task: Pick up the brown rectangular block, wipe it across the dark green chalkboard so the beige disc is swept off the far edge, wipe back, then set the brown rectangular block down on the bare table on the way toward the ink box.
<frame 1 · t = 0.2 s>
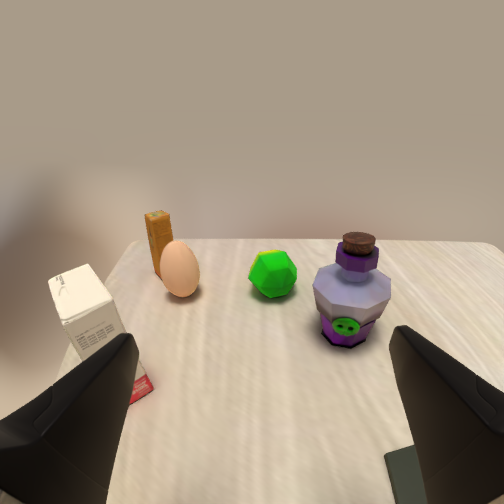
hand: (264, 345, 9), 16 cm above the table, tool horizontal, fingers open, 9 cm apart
potion bottle: (344, 332, 31), on the table
egg: (185, 295, 40), on the table
supplement box: (168, 273, 45), on the table
ink box: (119, 377, 26), on the table
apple: (270, 287, 40), on the table
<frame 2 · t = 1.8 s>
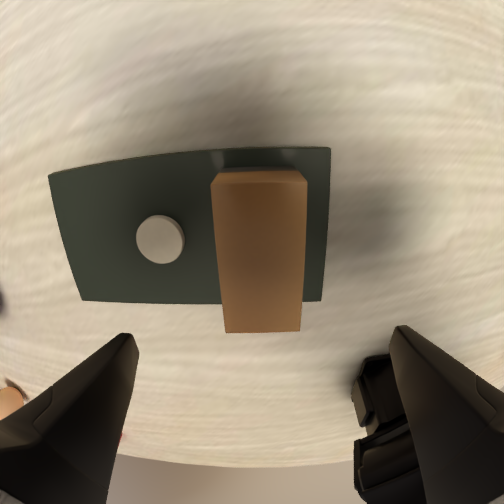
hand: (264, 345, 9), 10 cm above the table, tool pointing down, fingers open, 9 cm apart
egg: (18, 389, 30), on the table
beige disc: (161, 237, 17), point 1 cm above the table, touching chalkboard
chalkboard: (179, 233, 18), on the table
brown rectangular block: (260, 234, 17), point 1 cm above the table, touching chalkboard
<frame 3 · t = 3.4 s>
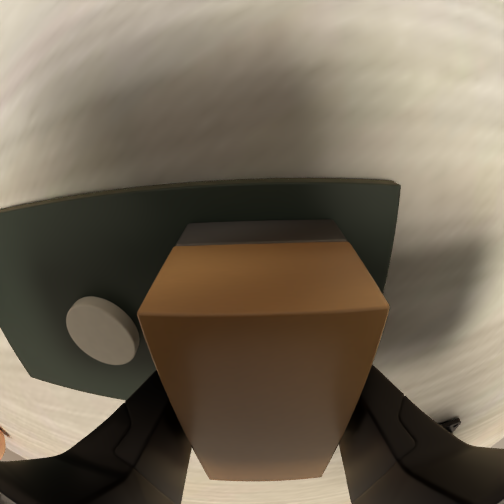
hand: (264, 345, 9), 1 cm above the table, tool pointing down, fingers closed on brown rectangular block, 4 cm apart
beige disc: (104, 327, 10), point 1 cm above the table, touching chalkboard
chalkboard: (131, 319, 10), on the table
brown rectangular block: (263, 332, 9), point 1 cm above the table, touching chalkboard, gripper
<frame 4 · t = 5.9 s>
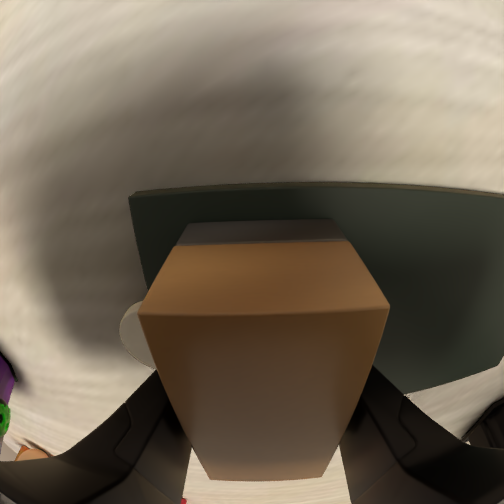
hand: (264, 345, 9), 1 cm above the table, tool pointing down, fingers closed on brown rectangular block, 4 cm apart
egg: (43, 450, 22), on the table
beige disc: (162, 332, 10), point 1 cm above the table, touching chalkboard
chalkboard: (399, 314, 10), on the table
brown rectangular block: (263, 332, 9), point 1 cm above the table, touching gripper
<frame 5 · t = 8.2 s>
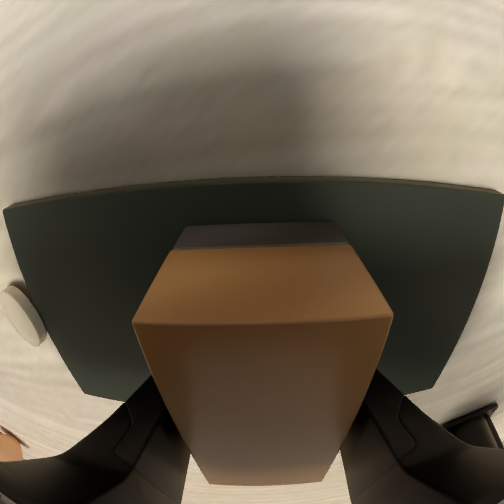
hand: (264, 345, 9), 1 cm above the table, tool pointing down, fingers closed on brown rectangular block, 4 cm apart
egg: (14, 436, 22), on the table
beige disc: (26, 313, 10), on the table, tilted 12°, touching chalkboard
chalkboard: (253, 323, 10), on the table
brown rectangular block: (263, 336, 9), point 1 cm above the table, touching gripper
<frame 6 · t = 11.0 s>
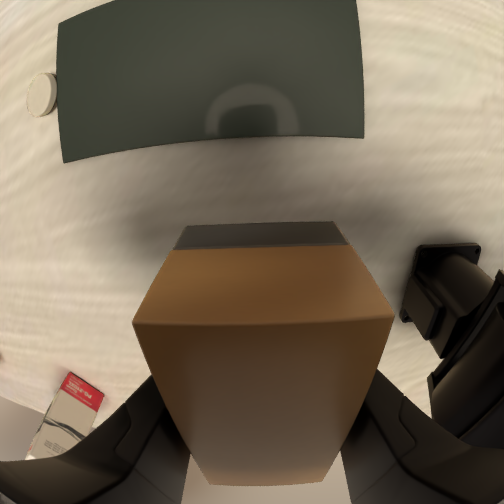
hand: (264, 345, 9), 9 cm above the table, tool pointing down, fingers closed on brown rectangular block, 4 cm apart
beige disc: (44, 94, 13), on the table, tilted 12°, touching chalkboard
chalkboard: (195, 55, 13), on the table
brown rectangular block: (263, 336, 9), point 9 cm above the table, touching gripper
ink box: (78, 392, 27), on the table
when the fingers open (0 cm above the table, at t = 13.4 s): brown rectangular block stays where it is, on the table.
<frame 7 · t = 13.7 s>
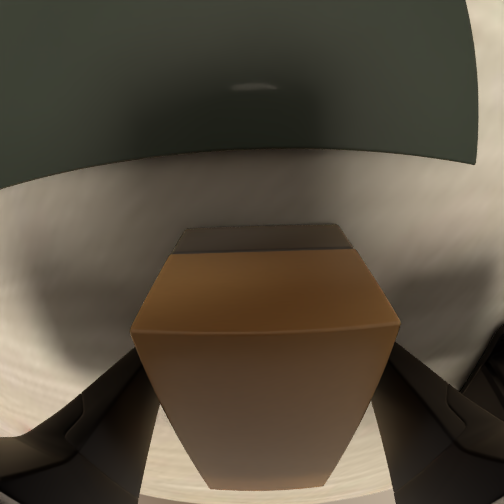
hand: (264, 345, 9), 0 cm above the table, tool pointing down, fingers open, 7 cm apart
brown rectangular block: (264, 341, 9), on the table
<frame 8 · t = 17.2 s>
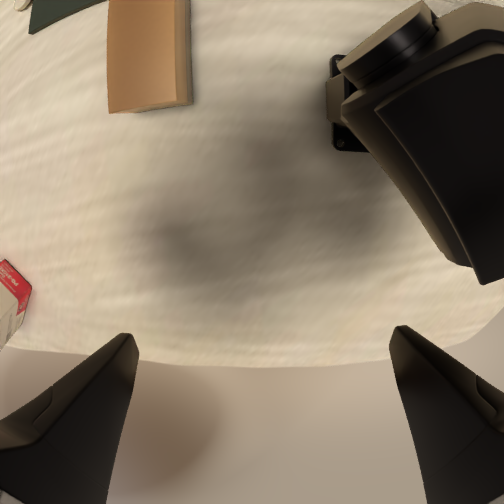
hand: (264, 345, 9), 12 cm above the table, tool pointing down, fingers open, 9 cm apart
brown rectangular block: (161, 53, 15), on the table
ink box: (13, 293, 24), on the table
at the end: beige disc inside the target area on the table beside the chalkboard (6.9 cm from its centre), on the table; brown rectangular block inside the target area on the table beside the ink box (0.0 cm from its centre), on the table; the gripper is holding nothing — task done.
